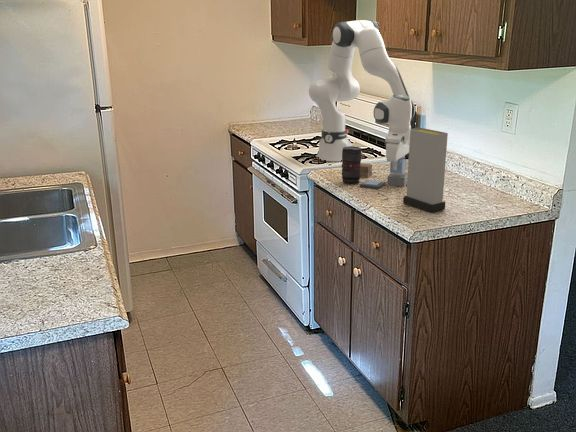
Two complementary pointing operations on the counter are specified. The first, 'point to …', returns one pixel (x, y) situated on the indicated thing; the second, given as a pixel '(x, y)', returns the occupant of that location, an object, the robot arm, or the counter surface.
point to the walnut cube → (366, 170)
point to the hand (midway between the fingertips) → (397, 167)
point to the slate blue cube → (399, 166)
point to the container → (426, 169)
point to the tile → (372, 184)
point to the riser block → (397, 179)
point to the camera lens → (351, 164)
